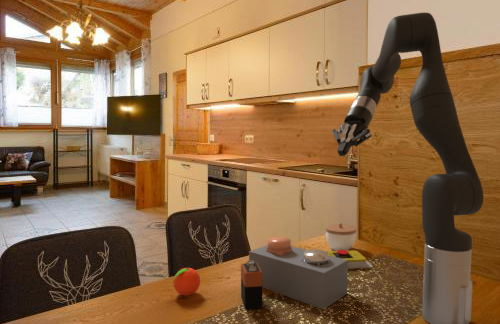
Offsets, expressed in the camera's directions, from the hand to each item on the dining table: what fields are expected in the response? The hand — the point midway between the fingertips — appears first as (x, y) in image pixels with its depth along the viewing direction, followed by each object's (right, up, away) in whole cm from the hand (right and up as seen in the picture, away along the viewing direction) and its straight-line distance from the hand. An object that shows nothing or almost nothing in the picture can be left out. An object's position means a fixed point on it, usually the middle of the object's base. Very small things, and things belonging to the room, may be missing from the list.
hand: (341, 154), depth 111 cm
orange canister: (-19, -33, -5) cm, 38 cm away
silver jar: (-10, -35, -12) cm, 38 cm away
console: (-14, -37, -8) cm, 40 cm away
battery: (-26, -38, -17) cm, 49 cm away
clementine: (-44, -37, -13) cm, 59 cm away
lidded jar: (+6, -34, +26) cm, 43 cm away
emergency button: (+4, -36, +11) cm, 38 cm away
